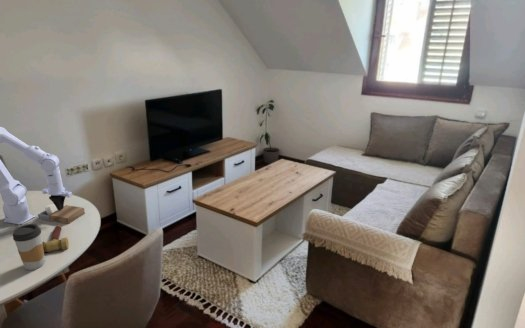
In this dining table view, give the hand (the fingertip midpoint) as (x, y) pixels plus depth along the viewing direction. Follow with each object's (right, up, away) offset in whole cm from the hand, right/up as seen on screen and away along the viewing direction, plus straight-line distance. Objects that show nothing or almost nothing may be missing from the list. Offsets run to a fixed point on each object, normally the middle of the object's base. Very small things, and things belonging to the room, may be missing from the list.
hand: (60, 209), depth 159 cm
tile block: (-3, 0, +1) cm, 4 cm away
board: (+3, -4, +1) cm, 5 cm away
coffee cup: (+10, -16, -32) cm, 38 cm away
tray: (-5, -3, +3) cm, 6 cm away
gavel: (+8, -11, -16) cm, 21 cm away
